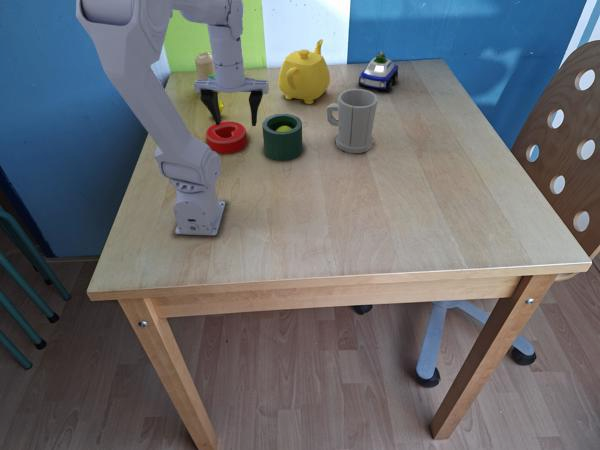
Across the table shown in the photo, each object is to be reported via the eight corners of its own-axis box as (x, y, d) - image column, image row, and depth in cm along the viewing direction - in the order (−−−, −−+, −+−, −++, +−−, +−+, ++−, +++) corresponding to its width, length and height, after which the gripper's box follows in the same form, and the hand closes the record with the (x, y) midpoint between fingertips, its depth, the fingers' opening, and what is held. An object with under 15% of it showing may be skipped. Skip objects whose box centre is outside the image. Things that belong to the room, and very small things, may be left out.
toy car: (355, 89, 122) (358, 57, 116) (369, 73, 130) (373, 41, 123) (386, 96, 119) (390, 63, 112) (399, 79, 127) (404, 47, 120)
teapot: (341, 83, 125) (343, 41, 116) (311, 114, 112) (311, 69, 104) (300, 75, 130) (300, 33, 121) (267, 104, 117) (264, 59, 108)
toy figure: (202, 117, 112) (194, 73, 104) (211, 111, 114) (204, 68, 106) (222, 124, 110) (215, 79, 101) (231, 118, 112) (224, 74, 103)
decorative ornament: (206, 134, 106) (204, 123, 104) (245, 129, 107) (243, 118, 105) (208, 155, 99) (206, 144, 97) (249, 150, 101) (247, 139, 98)
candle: (196, 91, 123) (190, 57, 116) (205, 82, 127) (199, 49, 120) (214, 93, 122) (208, 59, 115) (222, 85, 125) (217, 51, 119)
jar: (301, 161, 97) (300, 134, 93) (262, 160, 98) (259, 133, 93) (303, 139, 104) (303, 114, 99) (266, 138, 104) (264, 113, 99)
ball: (297, 150, 100) (300, 129, 97) (278, 151, 97) (281, 129, 95) (288, 143, 103) (291, 123, 101) (269, 143, 101) (272, 123, 99)
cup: (336, 158, 98) (338, 111, 90) (324, 137, 104) (325, 92, 96) (378, 150, 100) (384, 104, 92) (363, 131, 106) (368, 85, 98)
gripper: (268, 51, 83) (272, 114, 92) (195, 51, 84) (207, 113, 93) (263, 67, 78) (268, 131, 87) (186, 66, 79) (199, 130, 88)
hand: (236, 123), depth 90 cm, fingers open, 7 cm apart
